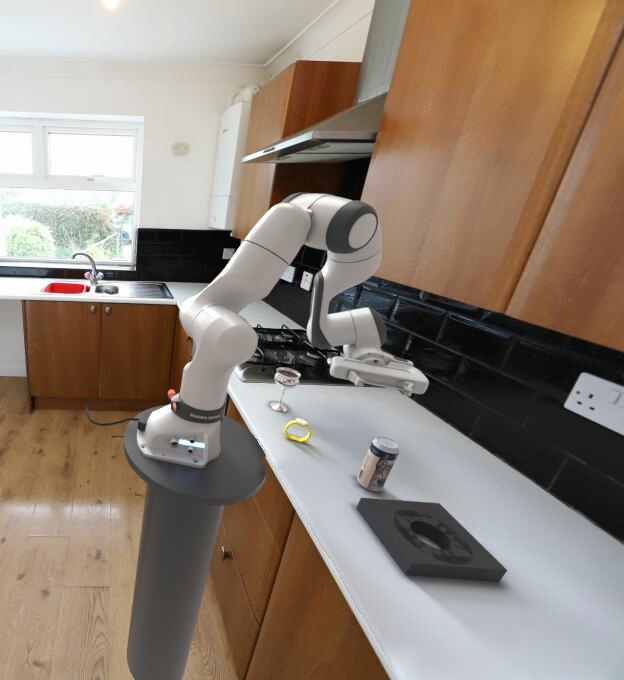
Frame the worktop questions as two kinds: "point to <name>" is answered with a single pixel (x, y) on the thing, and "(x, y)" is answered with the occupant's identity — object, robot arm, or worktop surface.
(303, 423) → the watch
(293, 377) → the wineglass
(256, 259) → the robot arm
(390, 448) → the beer can
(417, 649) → the worktop surface
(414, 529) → the base
